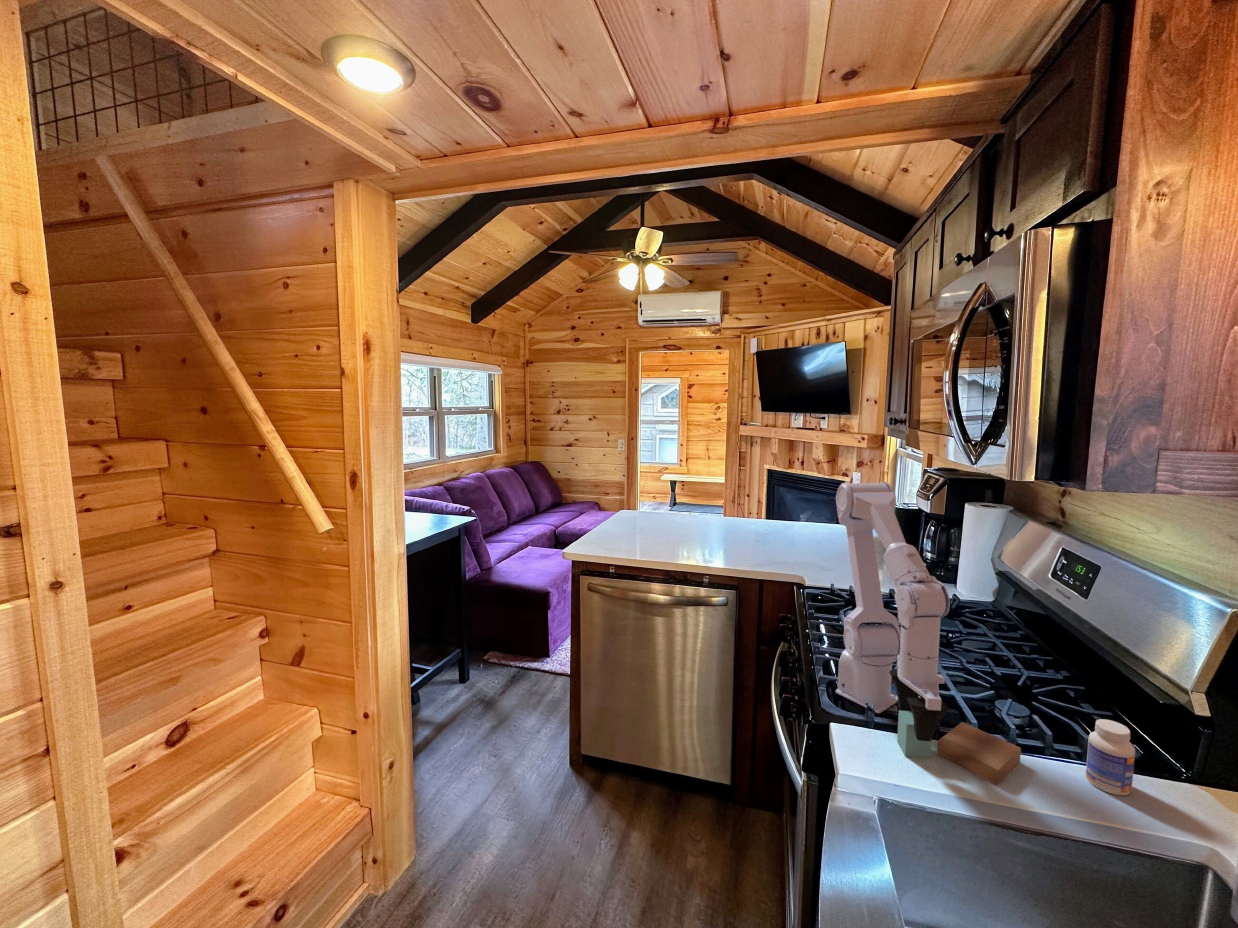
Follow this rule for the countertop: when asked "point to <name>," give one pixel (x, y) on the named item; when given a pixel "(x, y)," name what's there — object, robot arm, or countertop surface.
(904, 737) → the gray-green block
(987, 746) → the walnut block
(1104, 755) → the pill bottle
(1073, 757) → the countertop surface
